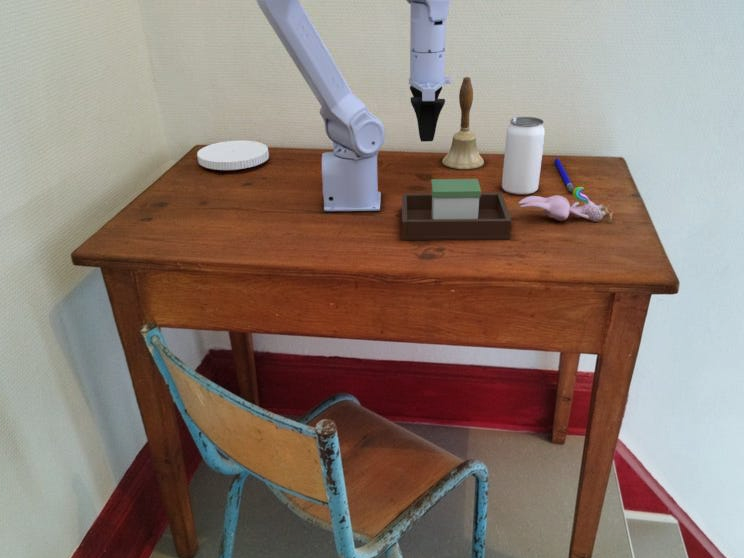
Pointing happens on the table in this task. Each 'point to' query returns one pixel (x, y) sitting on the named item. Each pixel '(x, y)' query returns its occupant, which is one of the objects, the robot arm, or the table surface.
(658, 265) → the table surface
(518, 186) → the can
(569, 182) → the pencil
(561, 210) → the rabbit figure
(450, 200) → the container
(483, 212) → the tray
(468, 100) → the hand bell
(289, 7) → the robot arm
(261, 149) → the plastic lid
